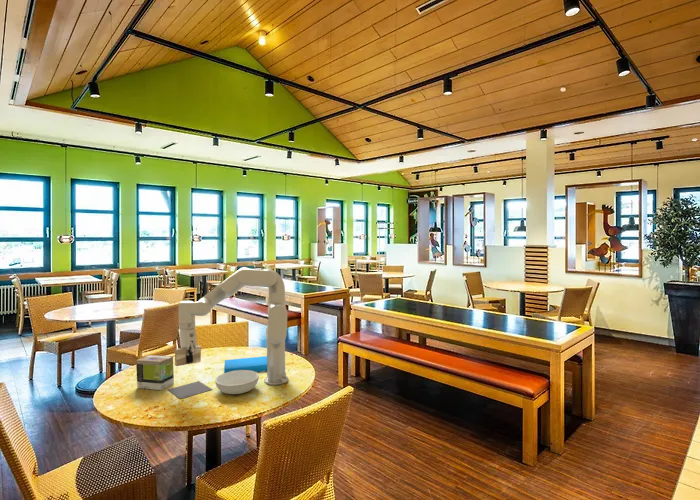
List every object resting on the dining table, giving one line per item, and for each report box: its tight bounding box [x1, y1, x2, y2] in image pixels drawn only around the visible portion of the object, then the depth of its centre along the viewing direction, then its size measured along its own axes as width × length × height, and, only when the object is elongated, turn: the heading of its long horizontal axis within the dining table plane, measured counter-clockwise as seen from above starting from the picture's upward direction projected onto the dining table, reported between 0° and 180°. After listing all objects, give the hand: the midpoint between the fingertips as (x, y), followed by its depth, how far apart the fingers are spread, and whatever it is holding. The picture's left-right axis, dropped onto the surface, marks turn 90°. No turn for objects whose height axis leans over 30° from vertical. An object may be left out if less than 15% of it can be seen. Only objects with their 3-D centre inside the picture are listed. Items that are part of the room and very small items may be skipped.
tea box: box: [135, 354, 175, 391], centre depth 210 cm, size 15×10×15 cm
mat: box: [167, 380, 213, 400], centre depth 203 cm, size 16×16×1 cm
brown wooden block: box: [174, 344, 202, 367], centre depth 203 cm, size 3×12×8 cm, turn 134°
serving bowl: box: [214, 370, 259, 395], centre depth 203 cm, size 21×21×7 cm
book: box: [223, 355, 267, 374], centre depth 236 cm, size 17×4×25 cm
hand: (188, 361), depth 203 cm, fingers closed on brown wooden block, 2 cm apart
